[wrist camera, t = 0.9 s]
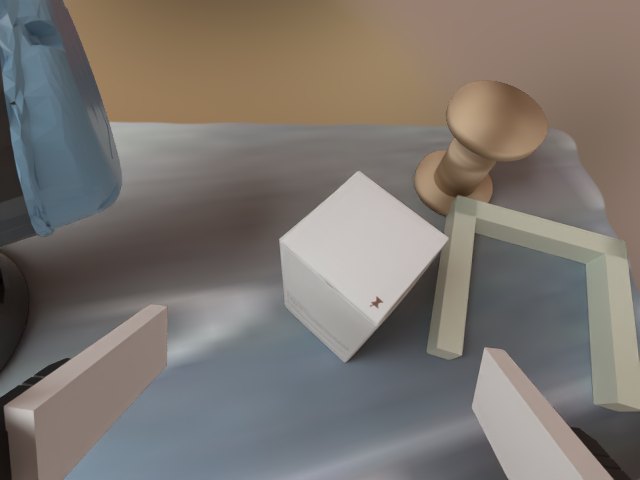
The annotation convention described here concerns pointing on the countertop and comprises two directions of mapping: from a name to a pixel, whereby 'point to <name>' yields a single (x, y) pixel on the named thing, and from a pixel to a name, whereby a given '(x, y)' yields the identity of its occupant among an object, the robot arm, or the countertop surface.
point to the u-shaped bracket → (563, 241)
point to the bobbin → (479, 142)
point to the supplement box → (354, 262)
